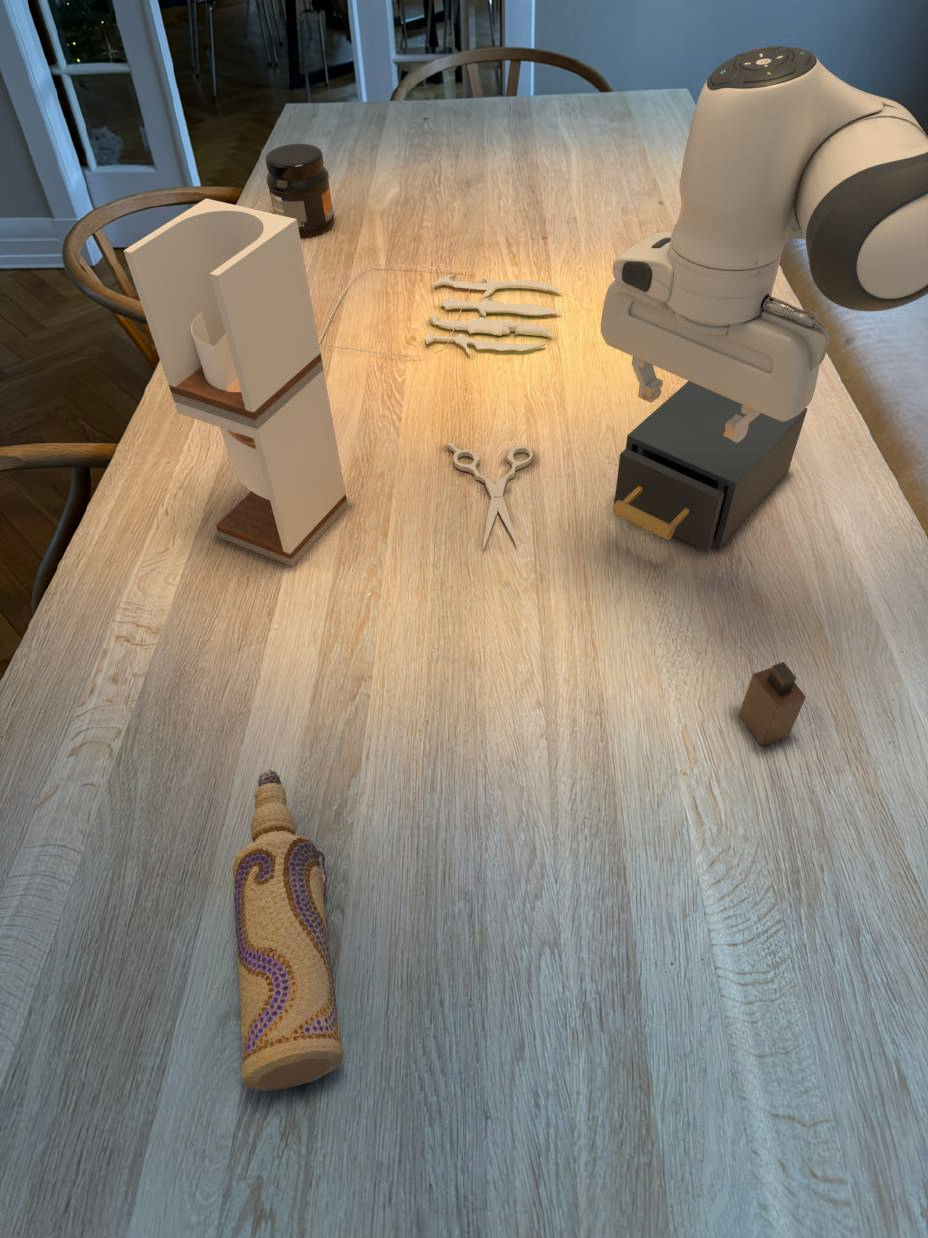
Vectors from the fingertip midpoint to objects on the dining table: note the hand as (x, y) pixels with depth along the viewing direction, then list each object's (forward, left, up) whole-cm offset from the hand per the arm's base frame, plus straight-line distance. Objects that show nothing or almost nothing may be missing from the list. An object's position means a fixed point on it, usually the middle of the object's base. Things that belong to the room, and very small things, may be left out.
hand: (690, 416), depth 83 cm
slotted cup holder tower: (+39, +21, -21) cm, 49 cm away
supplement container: (+94, -34, -21) cm, 102 cm away
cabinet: (+3, -15, -20) cm, 25 cm away
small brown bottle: (-19, +12, -20) cm, 30 cm away
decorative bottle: (+1, +54, -21) cm, 58 cm away
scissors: (+22, +2, -20) cm, 30 cm away
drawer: (+3, -10, -19) cm, 22 cm away
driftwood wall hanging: (+54, -26, -20) cm, 63 cm away
